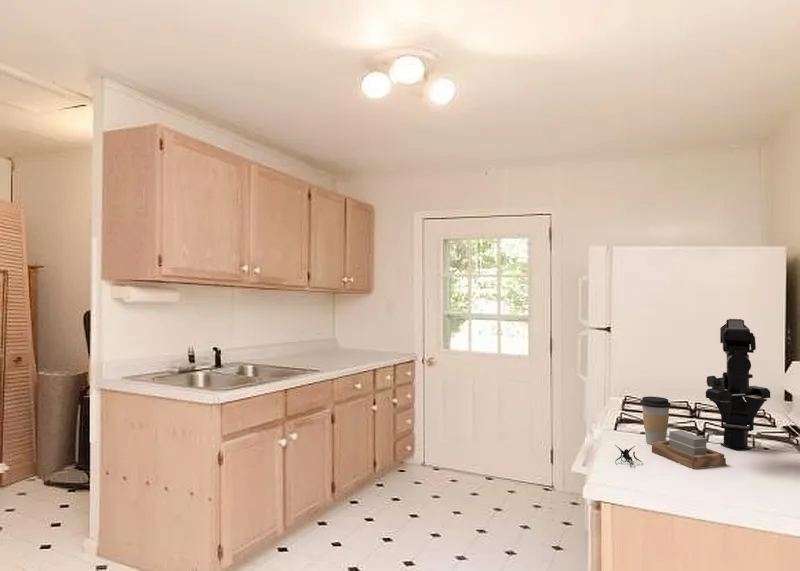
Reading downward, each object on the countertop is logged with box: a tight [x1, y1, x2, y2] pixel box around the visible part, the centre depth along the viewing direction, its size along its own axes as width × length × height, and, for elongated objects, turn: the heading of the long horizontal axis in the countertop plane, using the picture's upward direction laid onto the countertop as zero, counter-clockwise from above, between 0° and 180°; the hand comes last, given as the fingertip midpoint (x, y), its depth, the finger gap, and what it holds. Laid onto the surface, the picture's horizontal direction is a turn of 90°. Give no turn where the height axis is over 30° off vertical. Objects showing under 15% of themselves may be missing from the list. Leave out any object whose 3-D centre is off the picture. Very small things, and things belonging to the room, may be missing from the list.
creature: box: [614, 444, 644, 467], centre depth 161 cm, size 8×5×8 cm
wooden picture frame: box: [651, 439, 727, 470], centre depth 166 cm, size 12×16×3 cm
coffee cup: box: [639, 395, 672, 446], centre depth 182 cm, size 9×9×15 cm
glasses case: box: [668, 429, 708, 456], centre depth 166 cm, size 4×10×5 cm, turn 15°
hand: (738, 422), depth 162 cm, fingers open, 9 cm apart
